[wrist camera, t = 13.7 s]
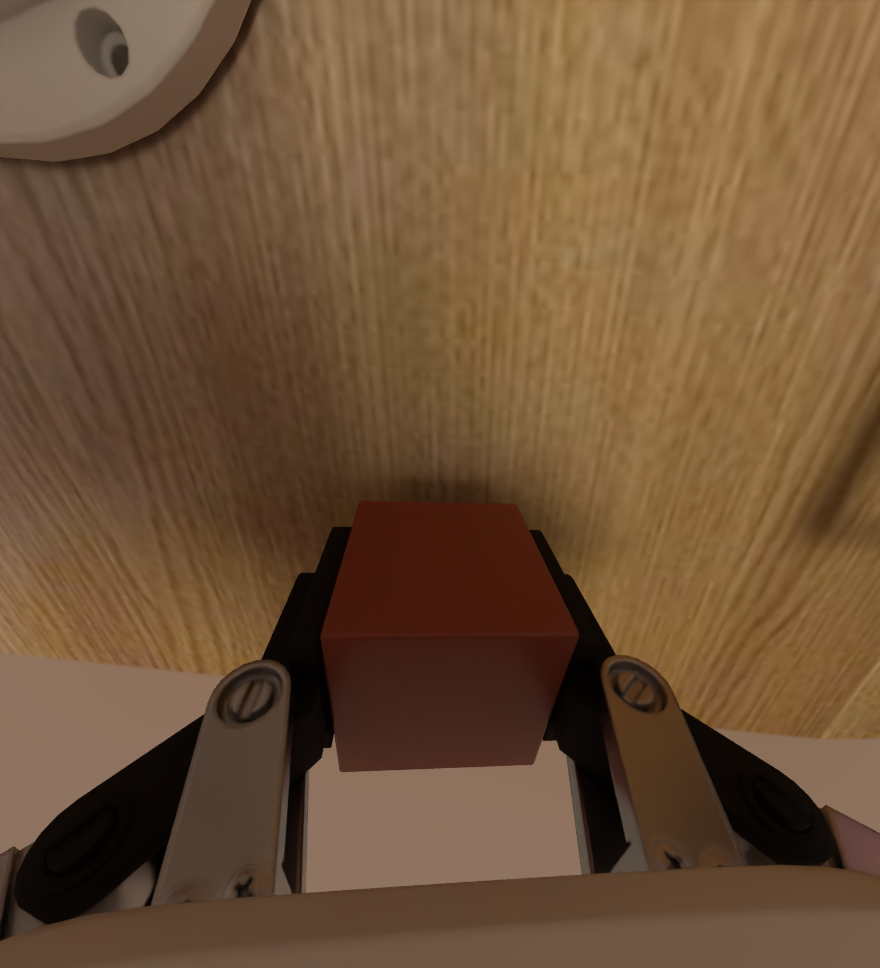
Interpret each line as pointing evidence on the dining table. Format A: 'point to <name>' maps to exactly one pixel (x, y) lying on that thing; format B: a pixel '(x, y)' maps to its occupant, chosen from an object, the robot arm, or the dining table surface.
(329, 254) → the dining table surface
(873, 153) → the dining table surface
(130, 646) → the dining table surface
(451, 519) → the block
